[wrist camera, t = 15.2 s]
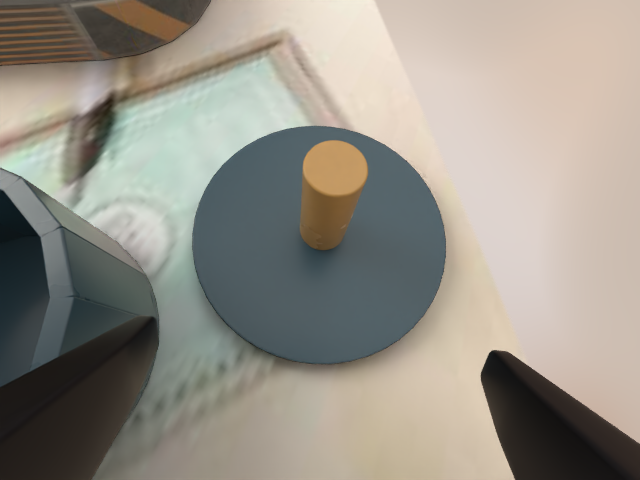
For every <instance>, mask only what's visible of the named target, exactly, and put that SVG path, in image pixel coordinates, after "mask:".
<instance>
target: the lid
mask: <svg viewBox="0 0 640 480" xmlns="http://www.w3.org/2000/svg"><path fill="white" fill-rule="evenodd" d="M192 250H193V257H194V264H195V268H196V272H197V275H198V278H199V282H200V284H201V286H202V288H203V291H204V293H205V295H206V297H207V299H208V300H209V302H210V303H211V305H212V306H213V308H214V309H215V311H216V313H217V314H218V315H219V316H220V317H221V318H222V319H223V321H224V322H225V323H226V324H227V325H228V326H229V327H230V328H231V329H232V330H234V331H235V332H236V333H237V334H238V335H239V336H241V337H242V338H243V339H245V340H246V341H248V342H249V343H251V344H253V345H254V346H256V347H257V348H259V349H261V350H264V351H266V352H268V353H270V354H272V355H275V356H277V357H281V358H284V359H288V360H291V361H295V362H302V363H309V364H336V363H343V362H350V361H354V360H357V359H361V358H364V357H368V356H370V355H372V354H375V353H377V352H379V351H381V350H384V349H385V348H387V347H389V346H390V345H392V344H393V343H395V342H396V341H398V340H400V339H401V338H402V337H403V336H404V335H405V334H407V333H408V332H409V331H410V330H411V329H412V328H413V327H414V326H415V325H416V324H417V323H418V321H419V320H420V319H421V318H422V317H423V316H424V314H425V313H426V311H427V310H428V308H429V306H430V305H431V303H432V302H433V299H434V297H435V295H436V293H437V291H438V288H439V286H440V282H441V279H442V275H443V272H444V265H445V258H446V239H445V232H444V225H443V221H442V218H441V214H440V211H439V208H438V206H437V204H436V201H435V199H434V197H433V195H432V193H431V191H430V190H429V188H428V186H427V185H426V183H425V182H424V181H423V179H422V178H421V176H420V175H419V174H418V173H417V172H416V170H415V169H414V168H413V167H412V166H411V165H410V164H409V163H408V162H407V161H406V160H404V159H403V158H402V157H401V156H400V155H399V154H397V153H396V152H395V151H393V150H392V149H390V148H389V147H387V146H386V145H384V144H382V143H380V142H378V141H376V140H374V139H372V138H370V137H368V136H365V135H362V134H360V133H357V132H353V131H350V130H346V129H341V128H335V127H326V126H305V127H296V128H290V129H285V130H282V131H278V132H275V133H271V134H269V135H267V136H264V137H262V138H259V139H257V140H256V141H254V142H252V143H250V144H248V145H247V146H245V147H244V148H242V149H241V150H240V151H238V152H237V153H235V154H234V155H233V156H232V157H231V158H230V159H229V160H228V161H227V162H225V163H224V164H223V165H222V167H221V168H220V169H219V170H218V171H217V173H216V174H215V175H214V176H213V178H212V180H211V181H210V183H209V184H208V186H207V187H206V189H205V191H204V194H203V196H202V198H201V200H200V202H199V206H198V209H197V212H196V216H195V220H194V227H193V245H192Z"/></svg>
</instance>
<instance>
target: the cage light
mask: <svg viewBox="0 0 640 480" xmlns="http://www.w3.org/2000/svg"><path fill="white" fill-rule="evenodd" d="M209 3H210V0H0V65H10V64H29V63H49V62H68V61H88V60H105V59H112V58H118V57H124V56H130V55H136V54H142V53H144V52H146V51H149V50H151V49H154V48H156V47H159V46H161V45H164V44H166V43H169V42H171V41H173V40H174V39H176V38H177V37H178V36H180V35H181V34H182V33H184V32H185V31H186V30H188V29H189V28H190V27H192V26H193V25H194V24H196V23H197V21H198V20H199V18H200V17H201V15H202V14H203V12H204V11H205V9H206V8H207V6H208V5H209Z"/></svg>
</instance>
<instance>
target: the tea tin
mask: <svg viewBox="0 0 640 480" xmlns="http://www.w3.org/2000/svg"><path fill="white" fill-rule="evenodd" d="M138 315H147V316H154V317H155V318H156V320H157V327H158V335H159V320H158V310H157V305H156V299H155V296H154V293H153V290H152V287H151V285H150V283H149V281H148V279H147V277H146V275H145V273H144V272H143V270H142V269H141V267H140V266H139V265H138V263H137V262H136V261H135V260H134V259H133V258H132V257H131V256H130V255H129V254H128V253H127V252H126V251H125V250H124V249H123V248H122V247H121V245H120V244H119V243H118V242H116V241H115V240H113V239H112V238H110V237H109V236H107V235H106V234H105V233H103V232H102V231H100V230H99V229H97V228H96V227H94V226H93V225H91V224H90V223H88V222H87V221H86V220H84V219H83V218H81V217H80V216H78V215H77V214H75V213H74V212H72V211H71V210H69V209H68V208H66V207H65V206H64V205H62V204H61V203H59V202H58V201H56V200H55V199H53V198H52V197H50V196H49V195H47V194H46V193H45V192H43V191H42V190H40V189H39V188H37V187H36V186H34V185H33V184H31V183H30V182H28V181H27V180H25V179H24V178H22V177H21V176H18V175H16V174H14V173H11V172H9V171H7V170H4V169H2V168H0V387H1V386H3V385H5V384H7V383H9V382H11V381H13V380H15V379H16V378H18V377H20V376H22V375H24V374H26V373H28V372H30V371H32V370H34V369H36V368H38V367H40V366H41V365H43V364H45V363H47V362H49V361H51V360H53V359H55V358H57V357H59V356H61V355H63V354H65V353H66V352H68V351H70V350H72V349H74V348H76V347H78V346H80V345H82V344H84V343H86V342H88V341H89V340H91V339H93V338H95V337H97V336H99V335H101V334H103V333H105V332H107V331H109V330H111V329H113V328H114V327H116V326H118V325H120V324H122V323H124V322H126V321H128V320H130V319H132V318H134V317H136V316H138ZM155 356H156V354H155ZM155 356H154V359H153V361H152V363H151V366H150V368H149V370H148V373H147V375H146V377H145V380H144V382H143V384H142V386H141V389H140V391H139V393H138V396H137V398H136V400H135V402H134V404H133V406H132V408H131V410H130V412H129V414H128V416H127V417H126V419H125V421H124V423H125V422H126V420H127V419H128V417H129V416H130V414H131V412H132V411H133V409H134V408H135V406H136V405H137V403H138V401H139V399H140V397H141V395H142V393H143V391H144V389H145V387H146V385H147V382H148V379H149V376H150V374H151V371H152V368H153V365H154V360H155ZM124 423H123V424H124ZM121 427H122V426H121Z"/></svg>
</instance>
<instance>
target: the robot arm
mask: <svg viewBox="0 0 640 480" xmlns="http://www.w3.org/2000/svg"><path fill="white" fill-rule="evenodd" d="M158 345H159V337H158V327H157V320H156V318H155V317H154V316H147V315H138V316H136V317H134V318H132V319H130V320H128V321H126V322H124V323H122V324H120V325H118V326H116V327H114V328H113V329H111V330H109V331H107V332H105V333H103V334H101V335H99V336H97V337H95V338H93V339H91V340H89V341H88V342H86V343H84V344H82V345H80V346H78V347H76V348H74V349H72V350H70V351H68V352H66V353H65V354H63V355H61V356H59V357H57V358H55V359H53V360H51V361H49V362H47V363H45V364H43V365H41V366H40V367H38V368H36V369H34V370H32V371H30V372H28V373H26V374H24V375H22V376H20V377H18V378H16V379H15V380H13V381H11V382H9V383H7V384H5V385H3V386H1V387H0V480H92V478H93V476H94V474H95V473H96V471H97V469H98V467H99V465H100V464H101V462H102V460H103V458H104V457H105V455H106V453H107V451H108V449H109V448H110V446H111V444H112V442H113V441H114V439H115V437H116V435H117V433H118V432H119V430H120V428H121V426H122V425H123V423H124V421H125V419H126V417H127V416H128V414H129V412H130V410H131V408H132V406H133V404H134V402H135V400H136V398H137V396H138V393H139V391H140V389H141V386H142V384H143V382H144V380H145V377H146V375H147V373H148V370H149V368H150V366H151V363H152V361H153V359H154V356H155V354H156V352H157V349H158ZM481 382H482V386H483V389H484V392H485V396H486V399H487V402H488V406H489V409H490V412H491V416H492V419H493V422H494V426H495V429H496V432H497V435H498V438H499V441H500V443H501V446H502V448H503V451H504V453H505V456H506V458H507V461H508V463H509V466H510V468H511V470H512V473H513V475H514V478H515V480H640V444H639V443H637V442H636V441H635V440H633V439H632V438H630V437H629V436H628V435H626V434H625V433H623V432H622V431H620V430H619V429H618V428H616V427H615V426H613V425H612V424H610V423H609V422H608V421H606V420H604V419H603V418H602V417H600V416H599V415H598V414H596V413H595V412H593V411H592V410H590V409H589V408H588V407H586V406H585V405H583V404H582V403H580V402H579V401H578V400H576V399H575V398H573V397H572V396H570V395H569V394H567V393H566V392H565V391H563V390H562V389H560V388H559V387H557V386H556V385H555V384H553V383H552V382H550V381H549V380H547V379H546V378H545V377H543V376H542V375H540V374H539V373H537V372H536V371H535V370H533V369H532V368H530V367H529V366H528V365H526V364H525V363H523V362H522V361H520V360H519V359H518V358H516V357H515V356H513V355H512V354H510V353H509V352H506V351H497V350H493V351H491V352H490V353H489V355H488V357H487V360H486V362H485V364H484V367H483V369H482V372H481Z"/></svg>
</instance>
